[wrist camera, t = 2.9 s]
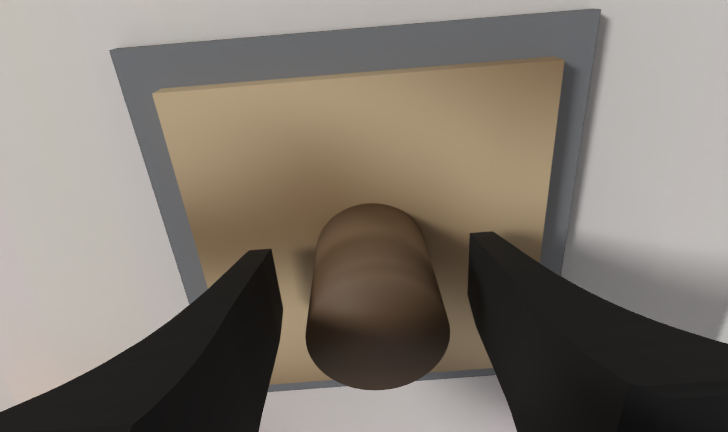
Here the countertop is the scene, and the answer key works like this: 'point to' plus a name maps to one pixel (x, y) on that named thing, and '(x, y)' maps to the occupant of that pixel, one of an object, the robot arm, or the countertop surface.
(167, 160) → the mat
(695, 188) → the countertop surface
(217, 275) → the lid
